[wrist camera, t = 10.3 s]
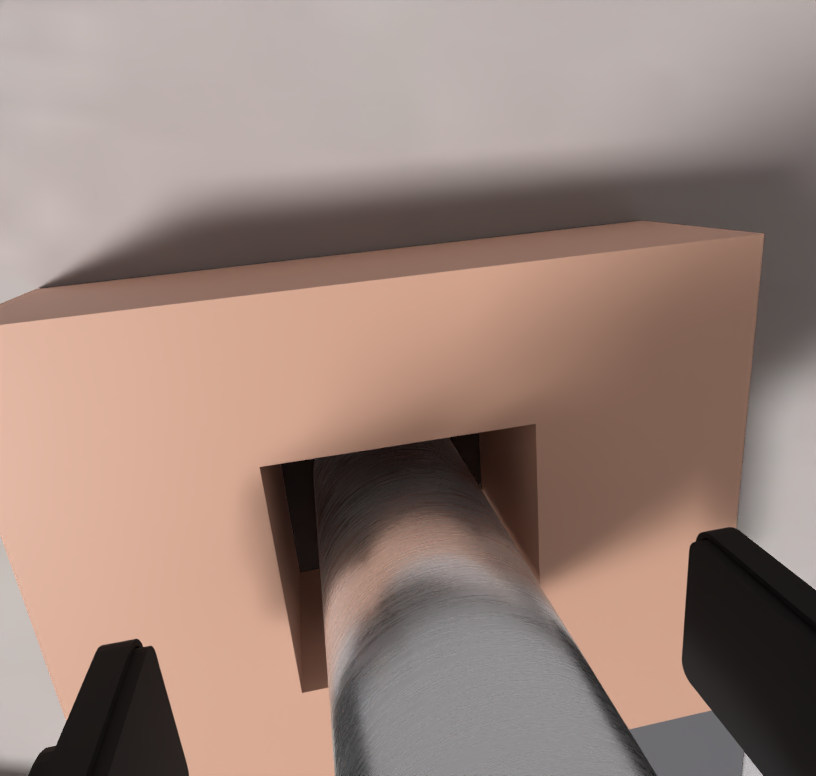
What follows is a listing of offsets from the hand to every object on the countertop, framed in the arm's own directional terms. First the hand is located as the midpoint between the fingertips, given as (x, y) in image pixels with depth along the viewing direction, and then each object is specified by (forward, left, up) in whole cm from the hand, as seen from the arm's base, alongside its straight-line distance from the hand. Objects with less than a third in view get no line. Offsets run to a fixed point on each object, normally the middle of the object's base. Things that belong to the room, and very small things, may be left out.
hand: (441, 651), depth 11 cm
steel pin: (0, 0, -7) cm, 7 cm away
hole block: (0, 0, -7) cm, 7 cm away
